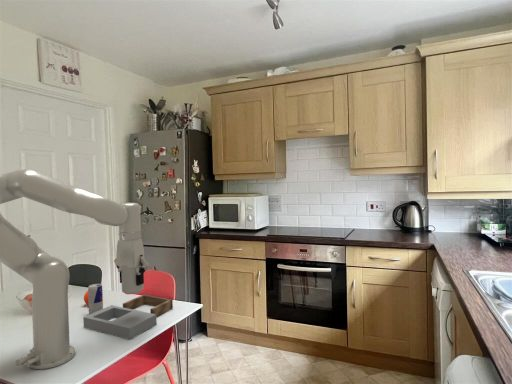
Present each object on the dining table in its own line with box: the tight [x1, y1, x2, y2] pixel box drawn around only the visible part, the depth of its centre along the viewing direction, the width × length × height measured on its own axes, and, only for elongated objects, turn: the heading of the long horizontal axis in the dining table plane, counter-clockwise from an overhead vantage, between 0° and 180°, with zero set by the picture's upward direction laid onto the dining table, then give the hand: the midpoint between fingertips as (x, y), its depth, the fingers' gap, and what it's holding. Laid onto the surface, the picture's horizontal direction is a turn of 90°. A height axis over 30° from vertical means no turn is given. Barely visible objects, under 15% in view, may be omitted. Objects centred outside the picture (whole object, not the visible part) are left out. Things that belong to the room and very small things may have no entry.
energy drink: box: [87, 283, 104, 315], centre depth 137 cm, size 5×5×12 cm
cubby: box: [122, 294, 174, 318], centre depth 140 cm, size 12×16×4 cm
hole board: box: [82, 305, 158, 340], centre depth 125 cm, size 13×24×4 cm, turn 65°
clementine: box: [83, 290, 89, 306], centre depth 148 cm, size 8×7×7 cm
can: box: [121, 263, 145, 295], centre depth 122 cm, size 8×8×12 cm
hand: (131, 283), depth 122 cm, fingers closed on can, 7 cm apart
